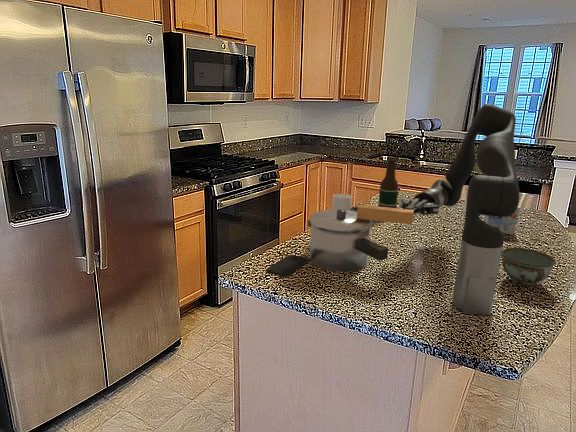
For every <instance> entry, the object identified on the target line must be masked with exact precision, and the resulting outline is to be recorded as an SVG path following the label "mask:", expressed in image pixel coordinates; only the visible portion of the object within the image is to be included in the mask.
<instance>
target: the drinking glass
mask: <svg viewBox="0 0 576 432" xmlns="http://www.w3.org/2000/svg"><path fill="white" fill-rule="evenodd" d="M331 201H332V203H331V210H339V209H342V210H347V211H350V210H351V208H352V195H350V194H346V193H336V194H335V193H334V194H333V195H332V200H331Z"/></svg>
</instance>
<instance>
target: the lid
mask: <svg viewBox="0 0 576 432" xmlns="http://www.w3.org/2000/svg"><path fill="white" fill-rule="evenodd" d="M413 212H414V210H407V209H402V208H397V207H396V208H388V207H378V205H375V206H374V205H365V204H358V208H357V212H354V211H347V210H342V209H339V210H332V209H325V210H324V209H323V210H319V211H315V212H313V213H312V214H310V217H309V218H310V219H309V220H310V223H311V225H312V226H314V227H316V228H318V229H321V230H325V231H329V232H336V233H357V232H363V231H366V230H368V229H370V230H371V228H372V226H373V221H375V222H376V221H377V222H385V223H394V224H403V225H413V220H414V214H413Z"/></svg>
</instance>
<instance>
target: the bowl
mask: <svg viewBox="0 0 576 432" xmlns="http://www.w3.org/2000/svg"><path fill="white" fill-rule="evenodd" d="M501 264H502V268H503V270H504V272H505V273H506V274H507V276H508V277H510V279H511V281H512V282H513V283H514V284H517V285H520V286H524V287H532V286H535V285H536V284H538V283H540V282H542V281H544V280H547V278H548V277H549V275H550V274H551V273H552V271H553V267H554V265H555V264H556V259H555V258H554V257H552V256H551V255H549V254H548V253H545V252H542V251H539V250H535V249H530V248H527V247H526V248H525V247H506V248H503V249H502V254H501Z"/></svg>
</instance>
